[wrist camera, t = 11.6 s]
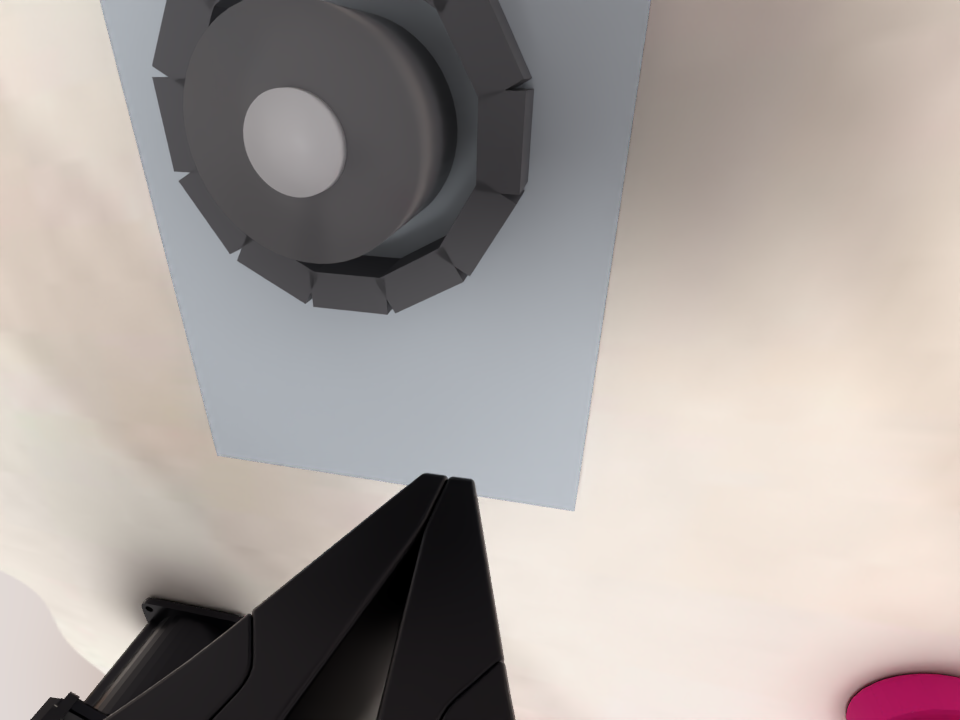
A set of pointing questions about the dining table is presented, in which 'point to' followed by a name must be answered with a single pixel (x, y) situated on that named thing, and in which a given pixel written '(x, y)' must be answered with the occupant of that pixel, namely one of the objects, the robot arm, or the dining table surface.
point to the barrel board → (452, 342)
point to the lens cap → (317, 125)
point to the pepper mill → (908, 699)
